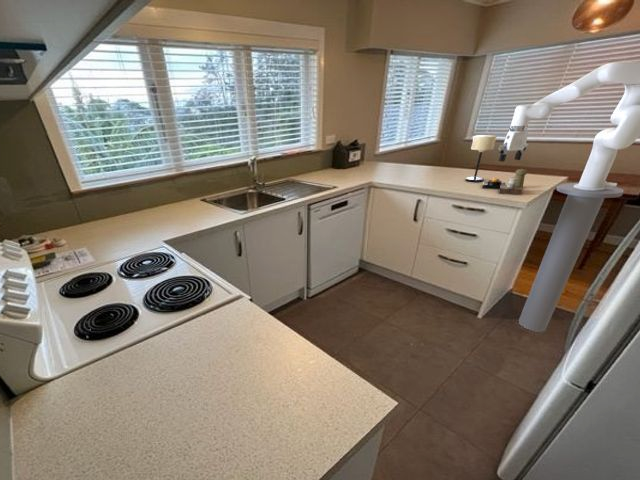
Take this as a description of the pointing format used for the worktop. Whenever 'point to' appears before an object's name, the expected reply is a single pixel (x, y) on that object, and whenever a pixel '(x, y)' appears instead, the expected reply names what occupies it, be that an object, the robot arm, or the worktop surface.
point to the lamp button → (495, 179)
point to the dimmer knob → (512, 182)
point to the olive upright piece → (520, 177)
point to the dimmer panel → (510, 190)
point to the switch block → (492, 184)
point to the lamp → (481, 145)
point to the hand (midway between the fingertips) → (509, 160)
